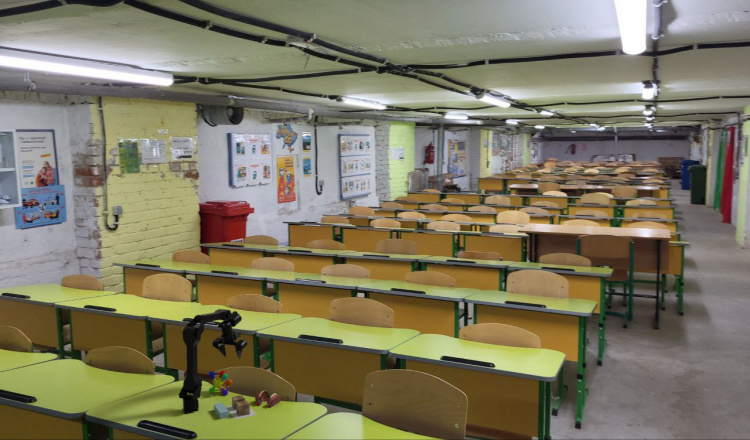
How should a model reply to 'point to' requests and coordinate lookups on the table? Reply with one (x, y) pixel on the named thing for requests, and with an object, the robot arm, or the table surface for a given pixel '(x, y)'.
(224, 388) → the molecular model
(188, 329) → the robot arm
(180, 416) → the table surface
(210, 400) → the table surface
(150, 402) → the table surface
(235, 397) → the post
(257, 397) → the teeth model
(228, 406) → the mat
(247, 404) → the post
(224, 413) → the light blue block
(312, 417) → the table surface
